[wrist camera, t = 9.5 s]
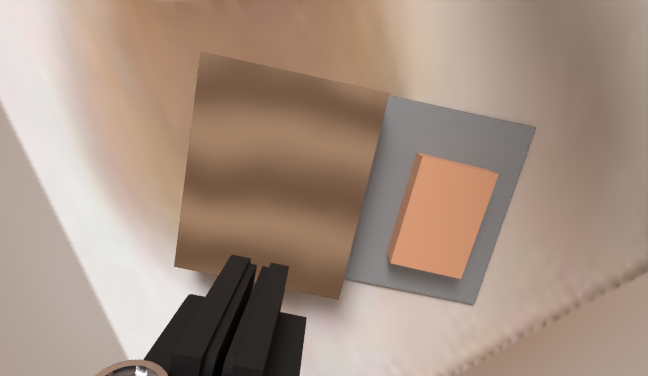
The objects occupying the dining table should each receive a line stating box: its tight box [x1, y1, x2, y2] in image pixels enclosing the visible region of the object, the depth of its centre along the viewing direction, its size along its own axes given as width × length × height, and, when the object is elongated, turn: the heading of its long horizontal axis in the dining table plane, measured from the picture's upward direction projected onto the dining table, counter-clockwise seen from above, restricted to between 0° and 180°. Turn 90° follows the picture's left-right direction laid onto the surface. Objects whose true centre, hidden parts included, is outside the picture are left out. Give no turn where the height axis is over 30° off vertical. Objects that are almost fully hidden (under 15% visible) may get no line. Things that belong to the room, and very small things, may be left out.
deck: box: [174, 52, 390, 299], centre depth 29 cm, size 16×13×4 cm
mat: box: [344, 95, 536, 304], centre depth 31 cm, size 16×12×1 cm
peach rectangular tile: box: [387, 153, 499, 279], centre depth 30 cm, size 9×6×2 cm, turn 167°
